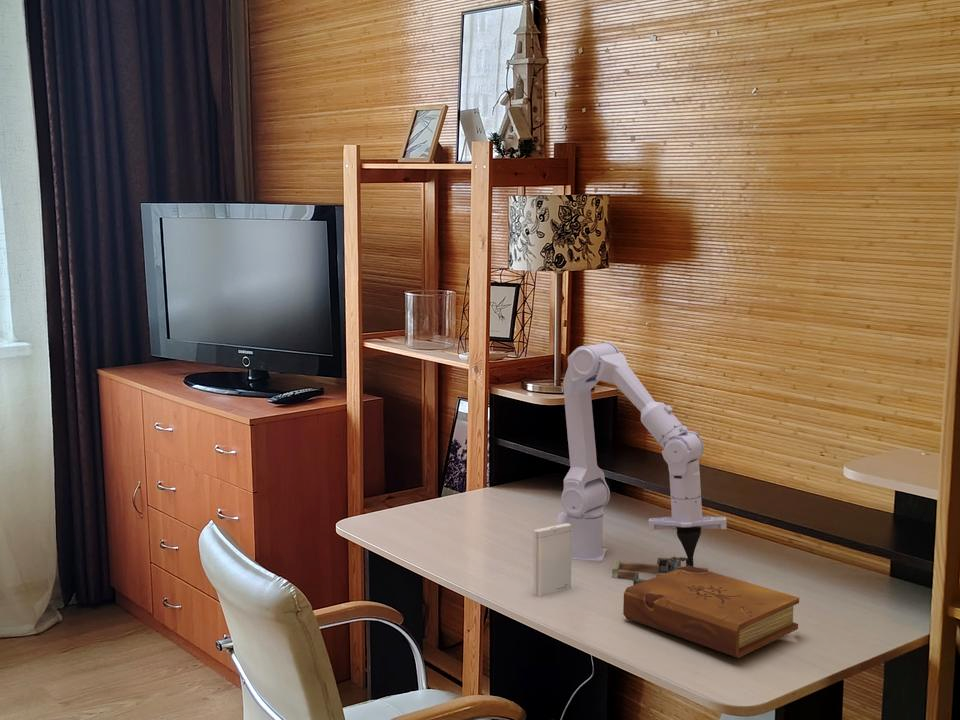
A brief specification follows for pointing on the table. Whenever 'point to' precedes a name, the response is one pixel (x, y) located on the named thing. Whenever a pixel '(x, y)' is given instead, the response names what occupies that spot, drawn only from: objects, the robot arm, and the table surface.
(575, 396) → the robot arm
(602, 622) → the table surface
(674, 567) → the wristwatch
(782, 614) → the diary
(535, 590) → the hard drive
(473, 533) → the table surface
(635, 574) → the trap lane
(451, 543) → the table surface
